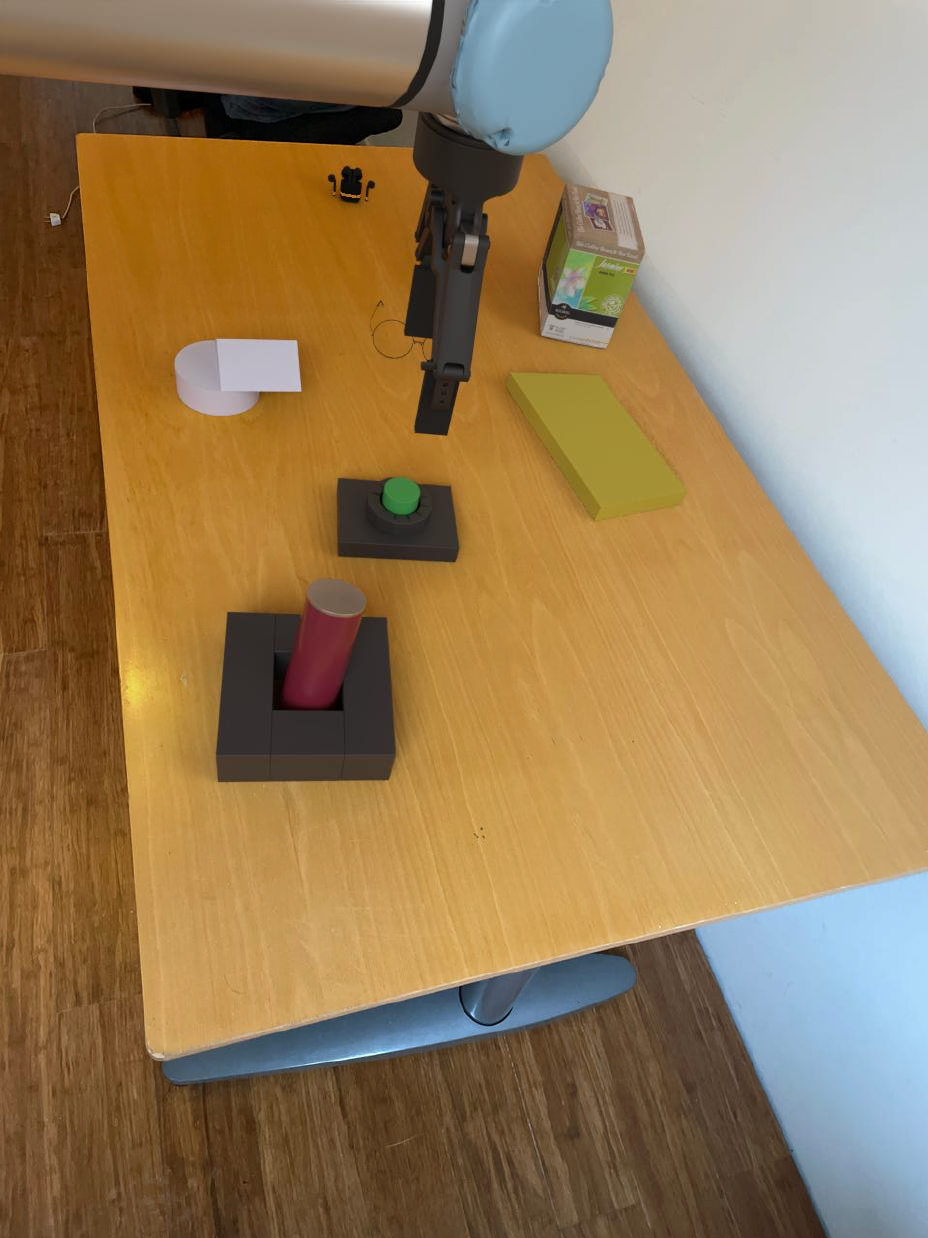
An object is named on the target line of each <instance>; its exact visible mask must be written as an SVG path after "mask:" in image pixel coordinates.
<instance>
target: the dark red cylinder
mask: <svg viewBox="0 0 928 1238" xmlns="http://www.w3.org/2000/svg"><path fill="white" fill-rule="evenodd" d="M366 606H367V598H366V595H365V594H364V592H363V591H361V589H360V588H358V587H357V586H355V585H354V584H352V583H350V582H348V581H345V580H342V579H337V578H331V577H330V578H326V577H325V578H319V579H316V580H314V581H312V582H311V583H309V585H308V586H307V589H306V592H305V597H304V601H303V605H302V609H301V613H300V614H301V617H300V621H299V625H298V629H297V632H296V636H295V640H294V644H293V648H292V652H291V656H290V660H289V664H288V668H287V672H286V676H285V680H284V681H283V685H282V688H281V693H280V697H279V700H278V705H277V710H299V711H335V709H336V705H337V702H338V700H339V692H340V689H341V686H342V683H343V679H344V676H345V673H346V669H347V666H348V663H349V660H350V656H351V653H352V650H353V646H354V643H355V640H356V636H357V633H358V630H359V627H360V623H361V620H362V617H363V616H364V613H365V610H366Z"/></svg>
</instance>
